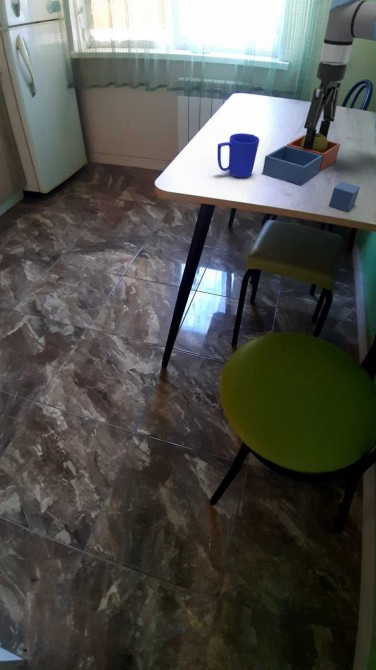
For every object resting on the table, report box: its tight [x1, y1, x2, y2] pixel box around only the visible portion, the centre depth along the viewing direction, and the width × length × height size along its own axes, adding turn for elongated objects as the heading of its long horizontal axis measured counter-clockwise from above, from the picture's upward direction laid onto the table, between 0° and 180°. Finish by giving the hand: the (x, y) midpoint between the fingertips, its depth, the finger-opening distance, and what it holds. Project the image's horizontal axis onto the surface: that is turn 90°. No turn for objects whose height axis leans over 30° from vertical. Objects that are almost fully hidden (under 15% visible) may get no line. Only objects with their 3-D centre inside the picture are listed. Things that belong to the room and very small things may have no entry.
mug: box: [217, 132, 260, 178], centre depth 116 cm, size 8×12×10 cm
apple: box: [301, 132, 329, 153], centre depth 127 cm, size 8×8×7 cm
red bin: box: [286, 134, 341, 173], centre depth 128 cm, size 12×12×5 cm
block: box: [328, 181, 361, 213], centre depth 106 cm, size 5×5×5 cm
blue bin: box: [261, 144, 323, 186], centre depth 120 cm, size 12×12×5 cm
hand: (314, 147), depth 127 cm, fingers open, 10 cm apart
